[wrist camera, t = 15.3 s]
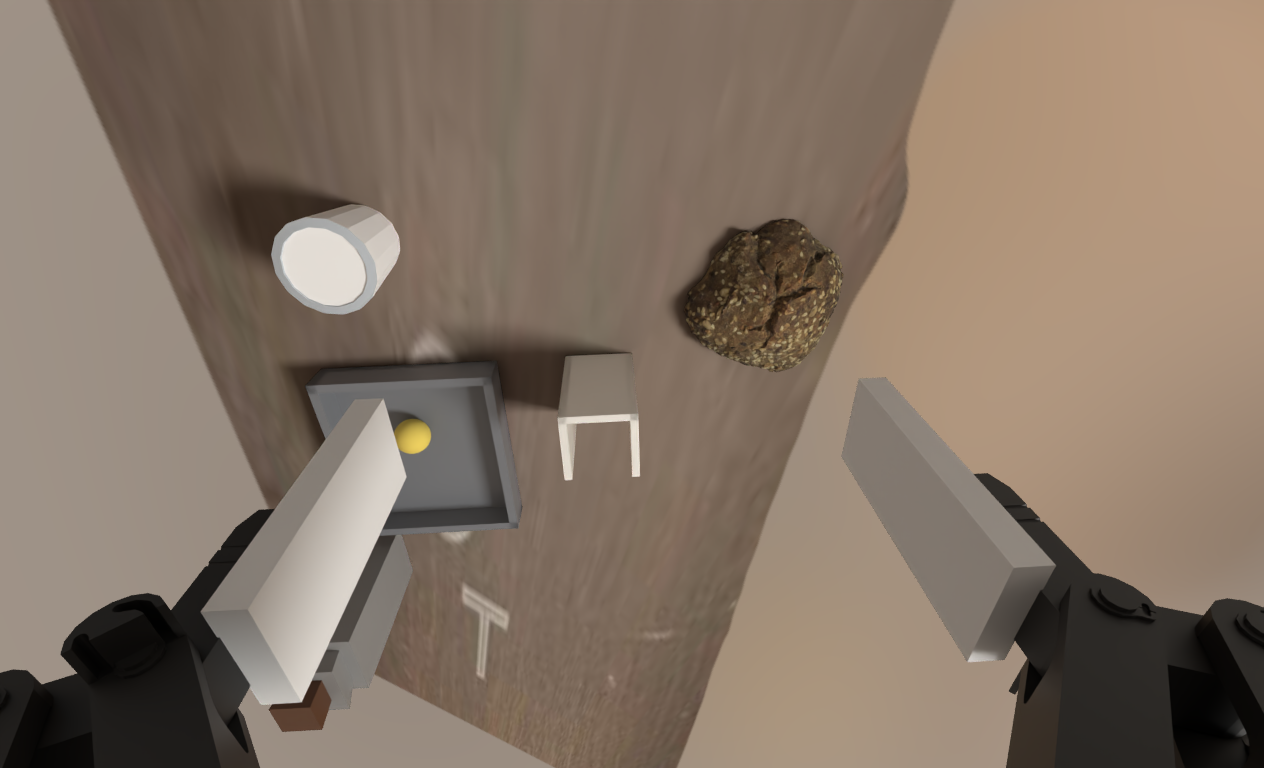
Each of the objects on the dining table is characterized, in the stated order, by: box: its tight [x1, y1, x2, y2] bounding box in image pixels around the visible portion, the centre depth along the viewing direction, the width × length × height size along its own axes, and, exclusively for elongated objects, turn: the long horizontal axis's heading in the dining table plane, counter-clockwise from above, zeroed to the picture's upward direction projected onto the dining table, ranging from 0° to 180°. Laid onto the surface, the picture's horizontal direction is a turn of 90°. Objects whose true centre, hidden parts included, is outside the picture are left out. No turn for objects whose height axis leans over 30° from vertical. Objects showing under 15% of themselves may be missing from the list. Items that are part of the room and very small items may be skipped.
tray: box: [305, 361, 522, 536], centre depth 52 cm, size 18×16×3 cm
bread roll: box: [685, 220, 843, 372], centre depth 45 cm, size 13×12×5 cm
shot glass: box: [271, 204, 400, 314], centre depth 40 cm, size 7×7×7 cm
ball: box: [394, 419, 431, 454], centre depth 50 cm, size 3×3×3 cm
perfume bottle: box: [269, 535, 413, 732], centre depth 52 cm, size 7×7×18 cm
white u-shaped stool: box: [558, 353, 640, 480], centre depth 46 cm, size 6×6×10 cm
